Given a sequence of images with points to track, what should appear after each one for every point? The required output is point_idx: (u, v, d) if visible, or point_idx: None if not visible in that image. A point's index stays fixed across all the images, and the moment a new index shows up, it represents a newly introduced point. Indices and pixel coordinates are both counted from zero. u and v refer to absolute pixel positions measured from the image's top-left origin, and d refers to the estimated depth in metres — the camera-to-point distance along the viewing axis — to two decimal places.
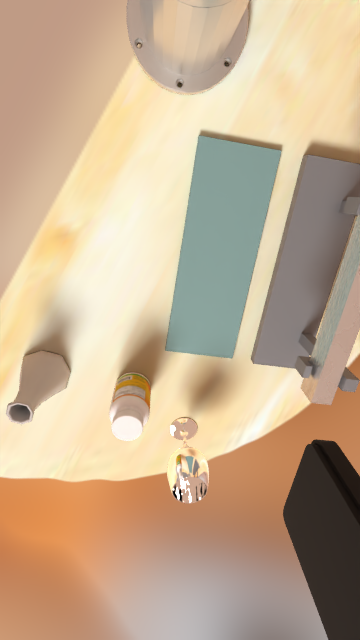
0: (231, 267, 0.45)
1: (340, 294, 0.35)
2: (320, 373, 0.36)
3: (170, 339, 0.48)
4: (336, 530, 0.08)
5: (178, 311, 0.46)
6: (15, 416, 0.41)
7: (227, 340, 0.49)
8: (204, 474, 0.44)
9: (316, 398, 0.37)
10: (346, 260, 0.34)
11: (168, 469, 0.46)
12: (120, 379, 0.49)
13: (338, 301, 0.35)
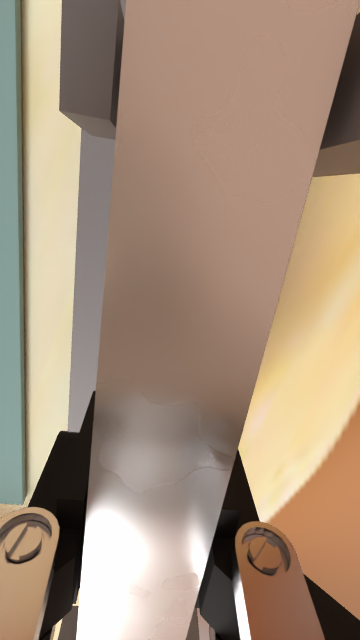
0: None
1: None
2: None
3: None
4: None
5: None
6: None
7: (2, 472, 0.22)
8: None
9: None
10: None
11: None
12: None
13: None
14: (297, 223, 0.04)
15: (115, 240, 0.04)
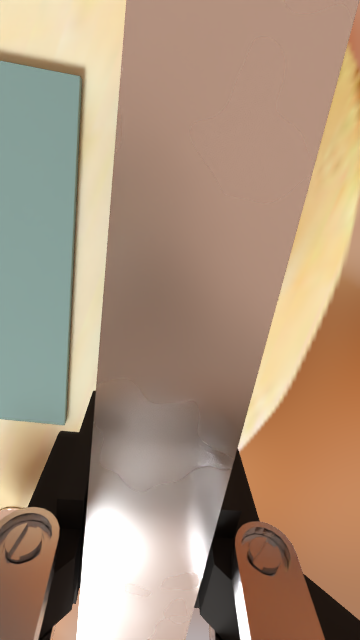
0: (32, 284, 0.27)
1: None
2: None
3: None
4: None
5: None
6: None
7: (51, 399, 0.30)
8: None
9: None
10: None
11: None
12: None
13: None
14: (296, 224, 0.04)
15: (115, 240, 0.04)
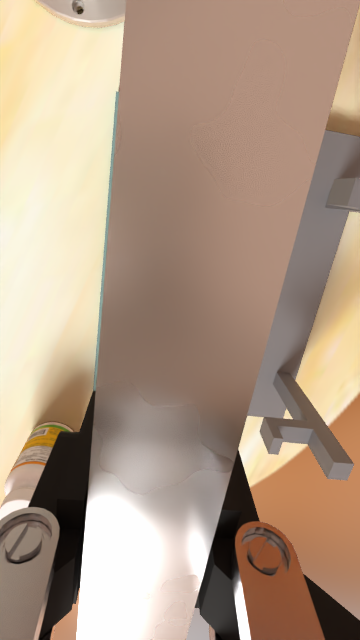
0: None
1: None
2: None
3: None
4: None
5: None
6: None
7: None
8: None
9: None
10: None
11: None
12: (33, 433, 0.36)
13: None
14: (296, 226, 0.04)
15: (115, 243, 0.04)
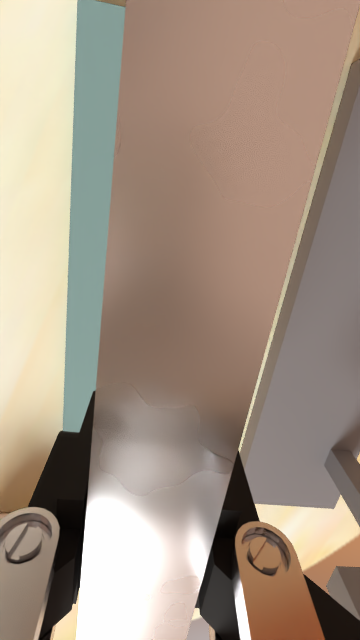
0: None
1: None
2: None
3: None
4: None
5: (77, 411, 0.22)
6: None
7: None
8: None
9: None
10: None
11: None
12: None
13: None
14: (296, 228, 0.04)
15: (114, 245, 0.04)
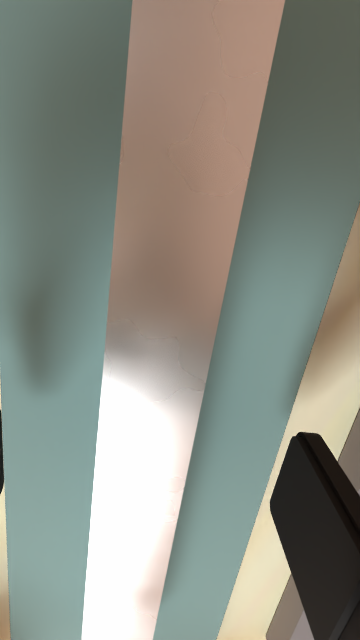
0: (201, 436, 0.12)
1: None
2: None
3: (20, 621, 0.16)
4: (317, 518, 0.08)
5: (30, 558, 0.14)
6: None
7: (198, 615, 0.16)
8: None
9: None
10: None
11: None
12: None
13: None
14: (240, 210, 0.07)
15: (120, 221, 0.07)
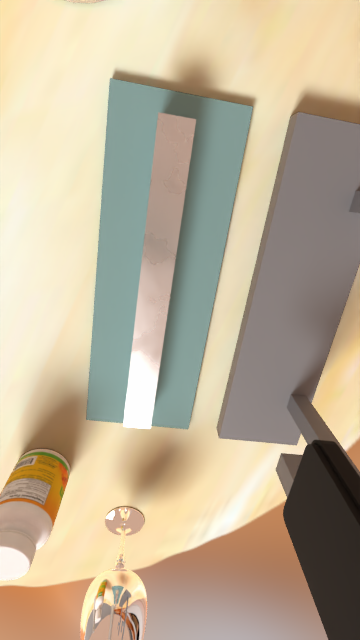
0: (179, 298, 0.28)
1: None
2: (127, 389, 0.28)
3: (92, 404, 0.32)
4: (336, 530, 0.08)
5: (100, 363, 0.30)
6: None
7: (180, 404, 0.32)
8: (135, 628, 0.28)
9: (129, 421, 0.29)
10: None
11: (82, 613, 0.29)
12: (19, 461, 0.33)
13: None
14: (184, 198, 0.23)
15: (149, 201, 0.23)
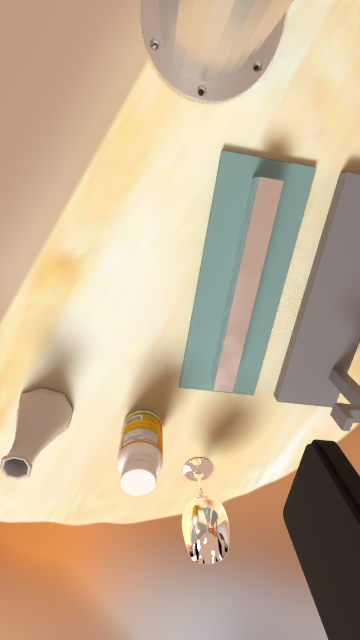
0: None
1: (232, 289, 0.37)
2: (218, 362, 0.39)
3: (185, 375, 0.43)
4: (336, 530, 0.08)
5: (194, 345, 0.41)
6: (10, 470, 0.36)
7: (249, 376, 0.43)
8: (225, 532, 0.39)
9: (217, 386, 0.40)
10: (236, 257, 0.37)
11: (183, 524, 0.40)
12: (129, 419, 0.44)
13: (231, 295, 0.37)
14: (271, 230, 0.34)
15: (248, 233, 0.34)
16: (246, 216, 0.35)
